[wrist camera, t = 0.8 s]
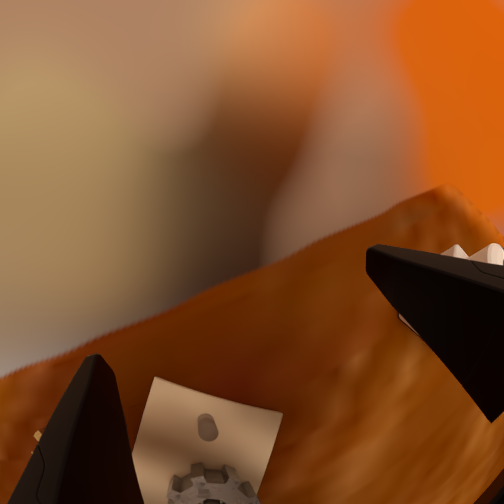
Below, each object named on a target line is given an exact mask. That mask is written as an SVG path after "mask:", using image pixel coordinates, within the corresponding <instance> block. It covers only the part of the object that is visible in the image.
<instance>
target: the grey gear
mask: <svg viewBox="0 0 504 504" xmlns="http://www.w3.org/2000/svg"><path fill="white" fill-rule="evenodd" d="M166 498H168V504H201V503H200V502H202V501H204V500H206V499H217V500H223V501H224V502H223V503H221V504H261V503H260V501H259V499H258V496H257V494H256V493H255V491H254V489H253V487H252V486H251V484H250V482H249V481H246V482H243V483H241V480H240V478H239V476H238V474H237V472H236V470H235V468H233V467H230V466H228V465H225V464H224V465H223V467H222V468H221V470H216V469H205V468H204V465H203V463H202V462H200V463H195V464H191V473H189V474H187V475H186V476H184V477H182V478H181V477H179V476H177V475H175V474H174V476H173V477H172V479H171V480H170V482H169V486H168V491H167V496H166Z"/></svg>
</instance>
